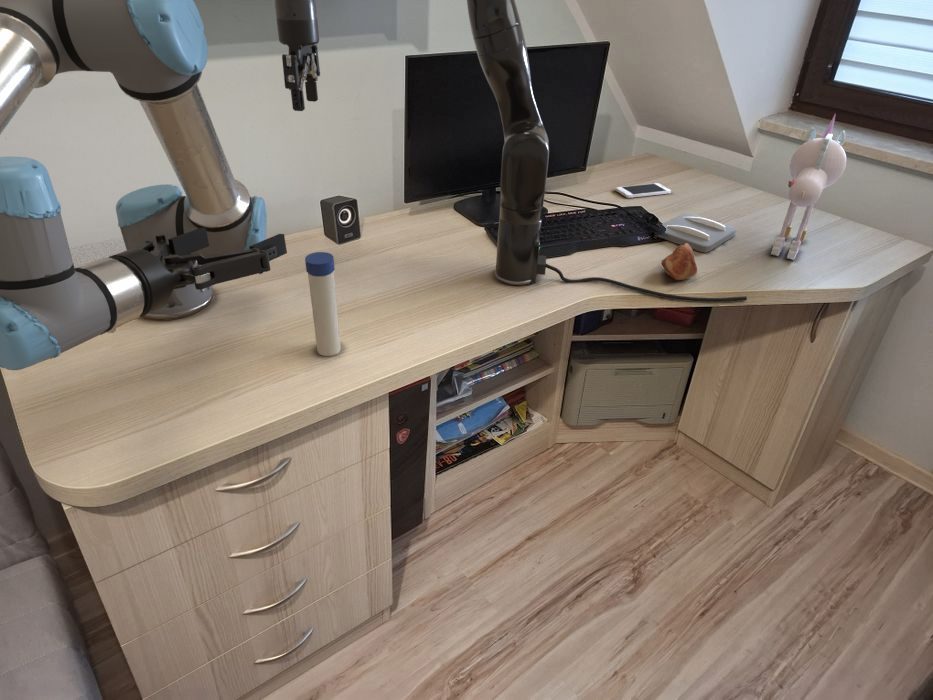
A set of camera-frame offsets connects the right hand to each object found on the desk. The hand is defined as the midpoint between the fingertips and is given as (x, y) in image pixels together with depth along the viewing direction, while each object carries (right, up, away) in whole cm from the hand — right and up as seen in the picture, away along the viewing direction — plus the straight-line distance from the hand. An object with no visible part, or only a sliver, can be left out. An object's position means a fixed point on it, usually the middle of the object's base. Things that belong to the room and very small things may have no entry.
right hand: (306, 105), depth 129 cm
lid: (+8, -34, -21) cm, 41 cm away
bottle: (+7, -49, -11) cm, 51 cm away
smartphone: (+86, -1, +66) cm, 108 cm away
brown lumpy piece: (+81, -32, +19) cm, 89 cm away
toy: (+118, -20, +39) cm, 126 cm away
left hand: (+1, -34, -38) cm, 51 cm away
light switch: (+93, -19, +39) cm, 102 cm away
